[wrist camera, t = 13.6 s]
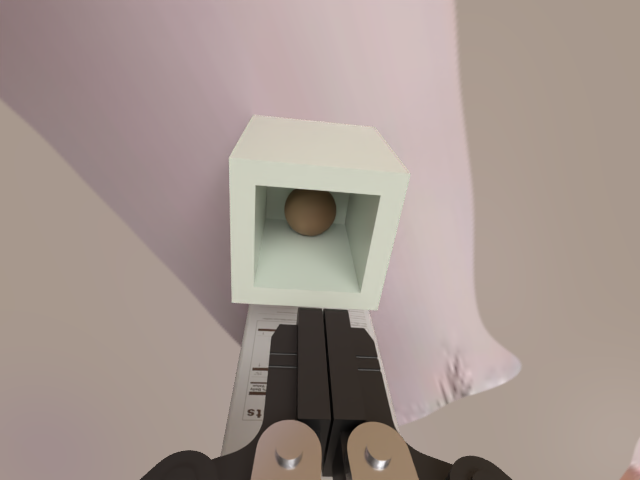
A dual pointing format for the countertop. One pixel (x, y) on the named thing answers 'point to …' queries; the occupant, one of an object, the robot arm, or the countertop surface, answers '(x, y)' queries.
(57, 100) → the countertop surface
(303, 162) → the stoneware open box
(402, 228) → the countertop surface
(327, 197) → the walnut ball
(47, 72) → the countertop surface
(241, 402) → the supplement box
